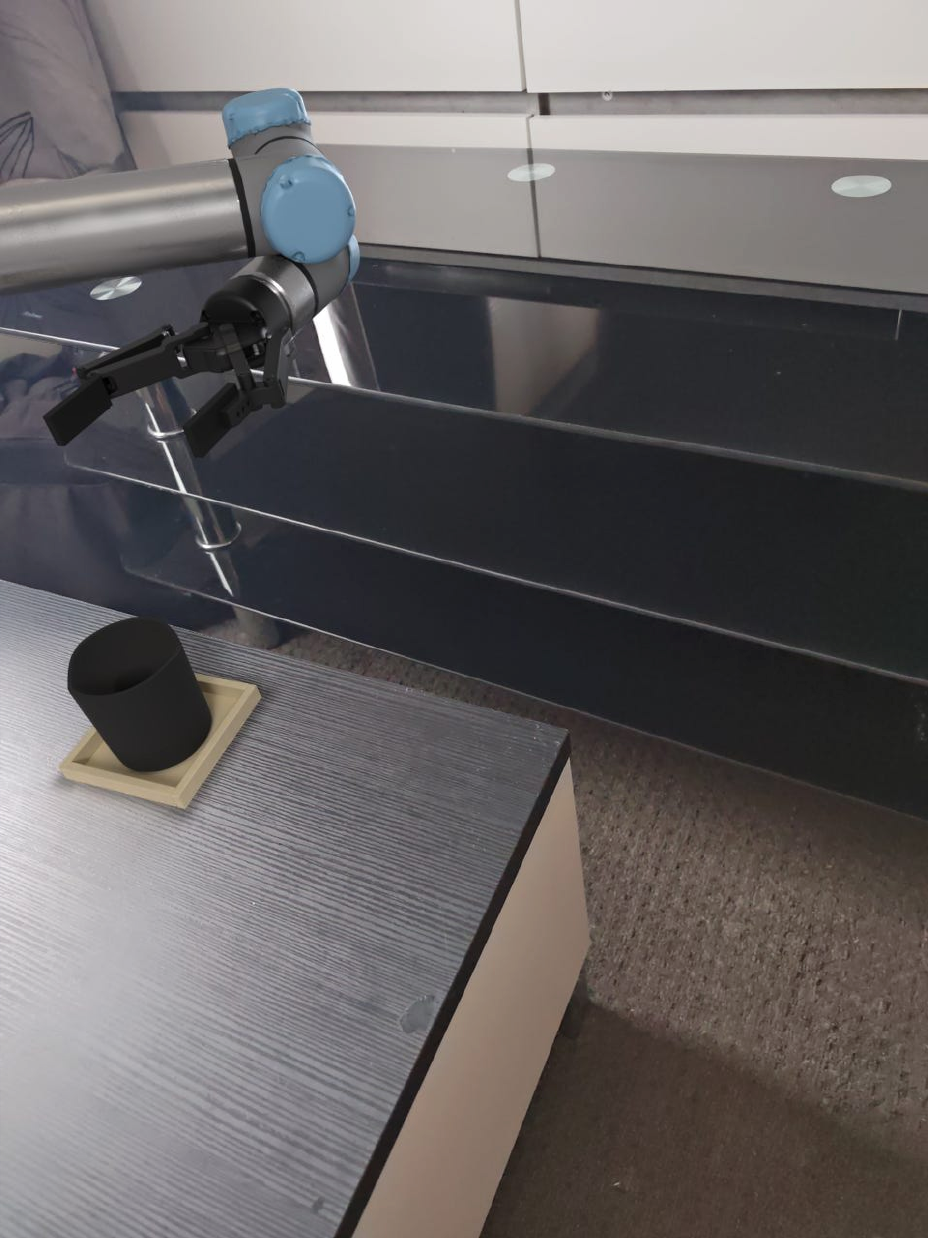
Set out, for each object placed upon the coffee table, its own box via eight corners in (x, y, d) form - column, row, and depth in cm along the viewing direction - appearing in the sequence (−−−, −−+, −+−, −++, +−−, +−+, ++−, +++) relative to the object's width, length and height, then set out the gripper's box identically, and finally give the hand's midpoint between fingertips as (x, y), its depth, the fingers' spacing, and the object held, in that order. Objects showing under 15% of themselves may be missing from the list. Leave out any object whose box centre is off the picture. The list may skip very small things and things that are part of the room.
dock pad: (68, 781, 79) (57, 767, 78) (152, 678, 88) (143, 663, 86) (186, 811, 75) (177, 797, 73) (263, 699, 83) (256, 684, 82)
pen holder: (237, 707, 82) (199, 625, 76) (177, 789, 76) (129, 708, 69) (155, 688, 86) (111, 609, 79) (91, 765, 80) (38, 686, 73)
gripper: (386, 355, 83) (271, 490, 69) (164, 347, 92) (22, 465, 78) (367, 273, 78) (239, 401, 64) (134, 274, 87) (-22, 386, 73)
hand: (120, 437), depth 71 cm, fingers open, 13 cm apart
